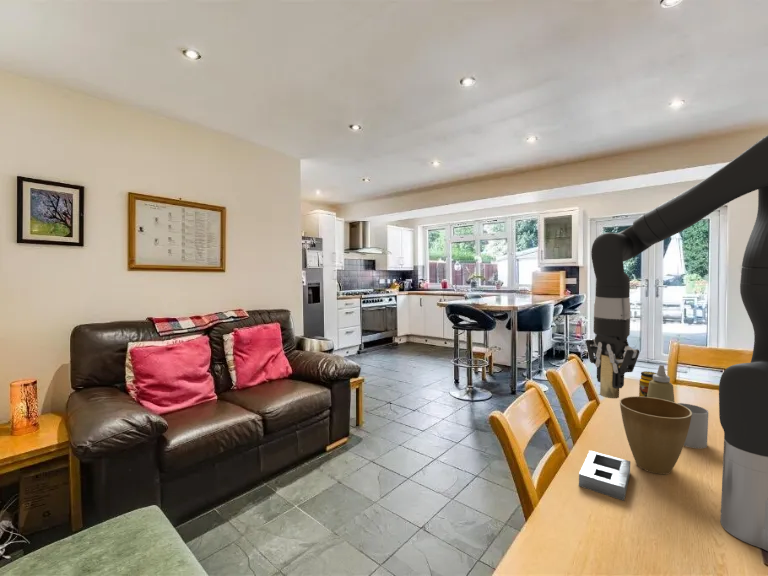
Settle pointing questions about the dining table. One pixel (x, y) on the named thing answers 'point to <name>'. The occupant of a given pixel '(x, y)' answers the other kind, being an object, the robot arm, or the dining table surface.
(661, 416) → the plant pot
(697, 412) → the cup
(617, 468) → the steel socket block
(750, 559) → the dining table surface
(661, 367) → the squeeze bottle
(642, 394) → the condiment
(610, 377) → the spice shaker
